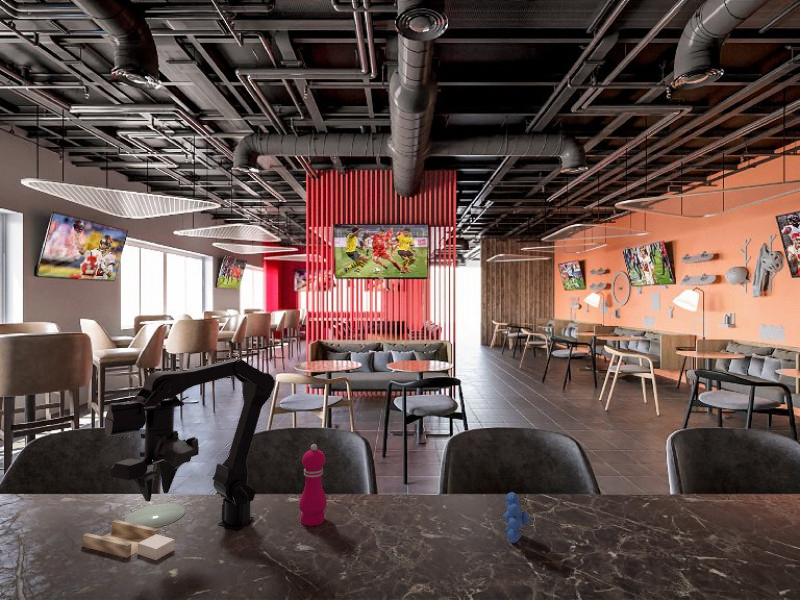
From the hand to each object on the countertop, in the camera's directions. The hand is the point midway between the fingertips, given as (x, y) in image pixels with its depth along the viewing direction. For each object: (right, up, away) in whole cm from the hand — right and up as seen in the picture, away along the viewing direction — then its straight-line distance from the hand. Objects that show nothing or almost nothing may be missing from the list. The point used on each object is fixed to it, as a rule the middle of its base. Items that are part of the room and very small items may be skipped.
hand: (157, 497), depth 97 cm
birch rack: (-10, -13, +3) cm, 16 cm away
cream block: (0, -13, -1) cm, 13 cm away
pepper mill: (+32, -14, +16) cm, 39 cm away
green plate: (-10, -13, +16) cm, 23 cm away
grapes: (+84, -14, +5) cm, 85 cm away
